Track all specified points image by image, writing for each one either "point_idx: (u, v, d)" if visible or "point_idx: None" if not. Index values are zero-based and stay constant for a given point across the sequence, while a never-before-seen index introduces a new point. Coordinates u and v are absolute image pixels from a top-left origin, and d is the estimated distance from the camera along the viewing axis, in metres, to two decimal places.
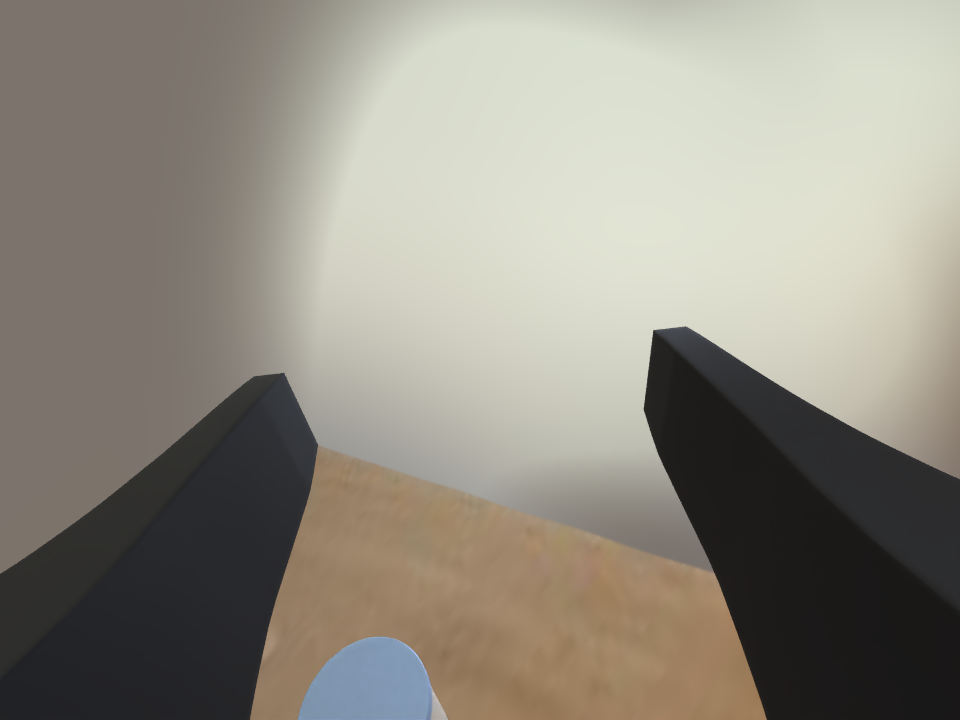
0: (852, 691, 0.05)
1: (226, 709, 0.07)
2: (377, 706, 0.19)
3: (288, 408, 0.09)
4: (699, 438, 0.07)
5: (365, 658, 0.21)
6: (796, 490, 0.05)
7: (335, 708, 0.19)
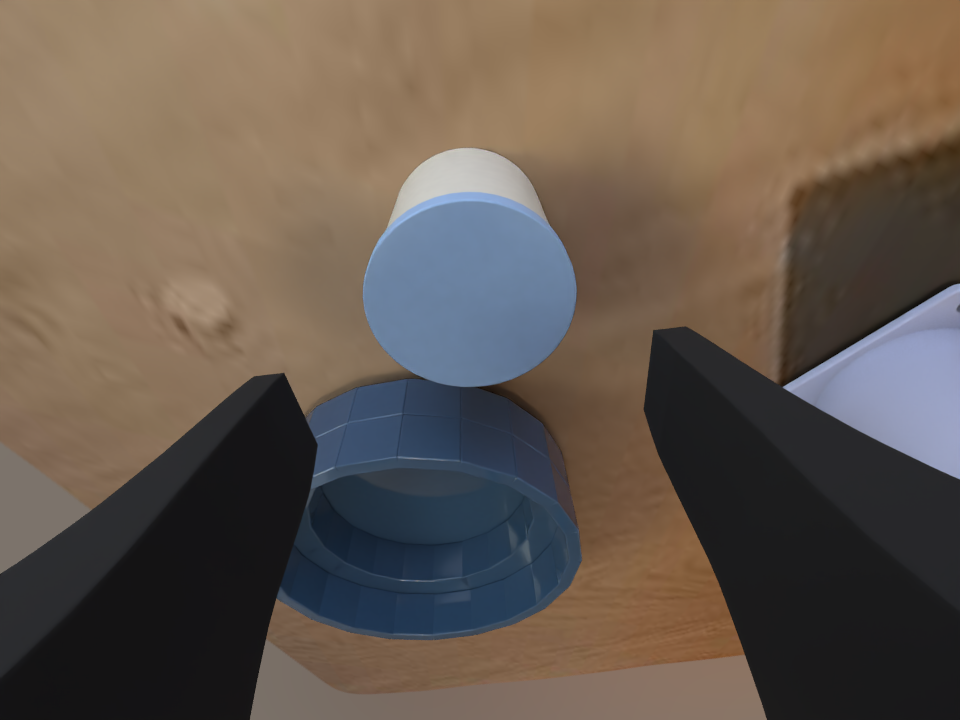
0: (852, 691, 0.05)
1: (226, 709, 0.07)
2: (487, 290, 0.12)
3: (288, 408, 0.09)
4: (699, 438, 0.07)
5: (407, 268, 0.12)
6: (796, 490, 0.05)
7: (439, 334, 0.13)
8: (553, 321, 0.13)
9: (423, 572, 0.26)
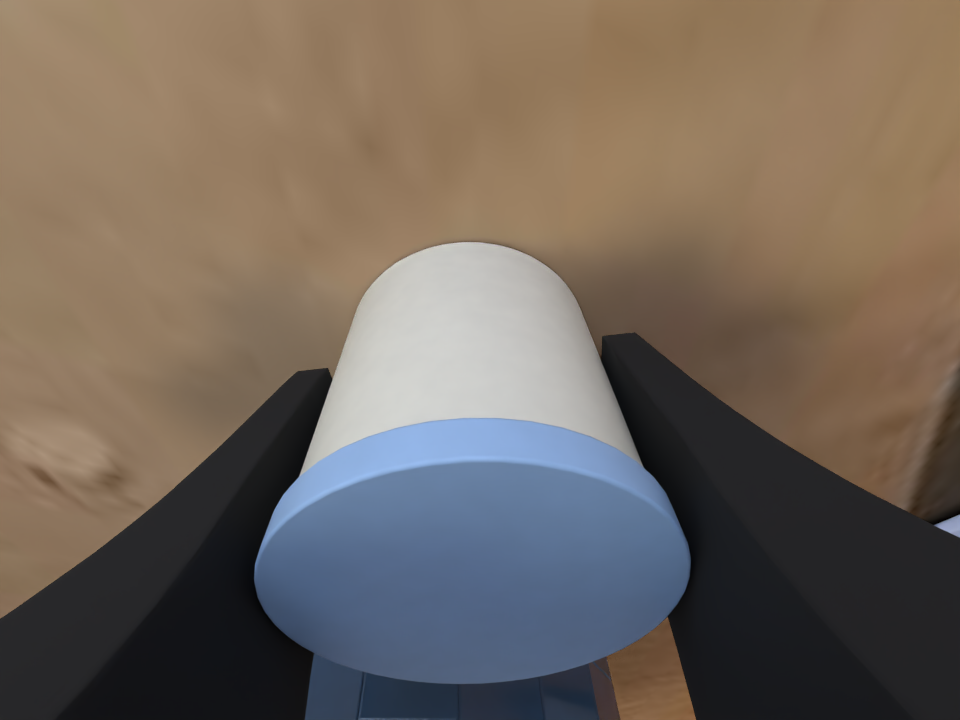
0: (755, 699, 0.05)
1: (286, 704, 0.07)
2: (509, 583, 0.06)
3: None
4: (639, 444, 0.07)
5: (342, 560, 0.05)
6: (709, 499, 0.05)
7: (414, 634, 0.07)
8: (636, 615, 0.06)
9: None
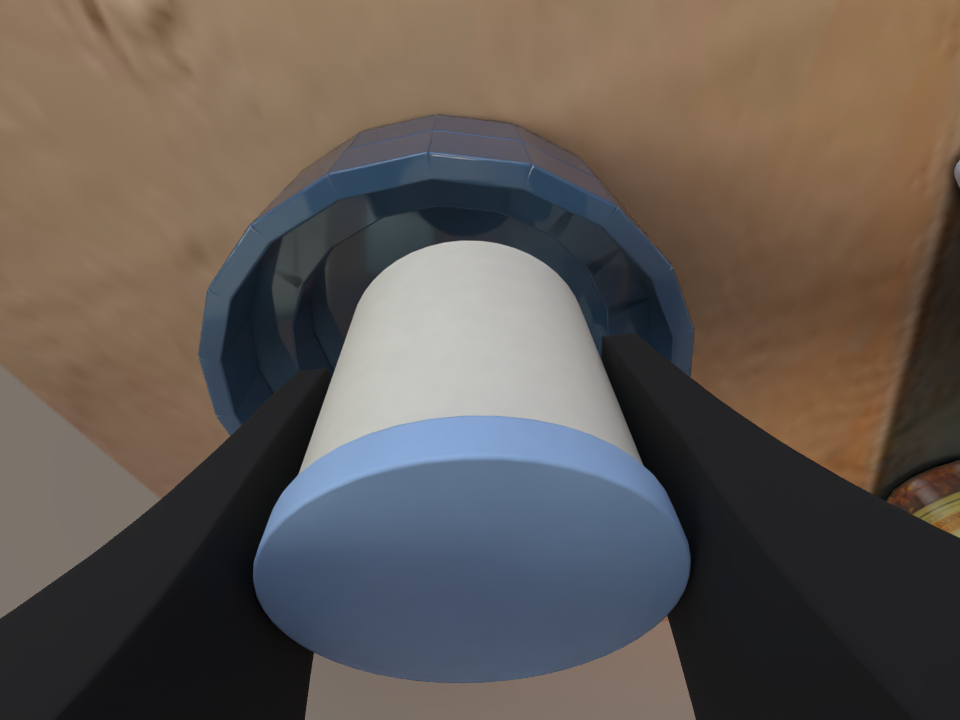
0: (754, 699, 0.05)
1: (285, 704, 0.07)
2: (509, 581, 0.06)
3: None
4: (639, 444, 0.07)
5: (341, 558, 0.05)
6: (709, 499, 0.05)
7: (414, 632, 0.07)
8: (636, 614, 0.06)
9: None
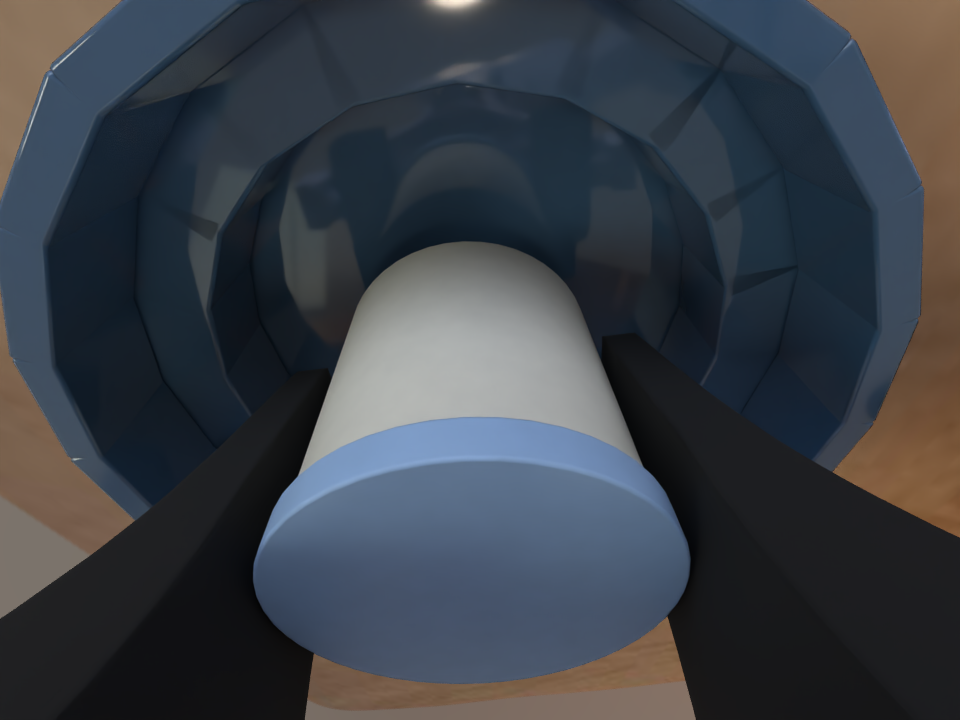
0: (754, 699, 0.05)
1: (285, 704, 0.07)
2: (509, 583, 0.06)
3: None
4: (639, 444, 0.07)
5: (341, 560, 0.05)
6: (709, 499, 0.05)
7: (414, 634, 0.07)
8: (635, 614, 0.06)
9: None
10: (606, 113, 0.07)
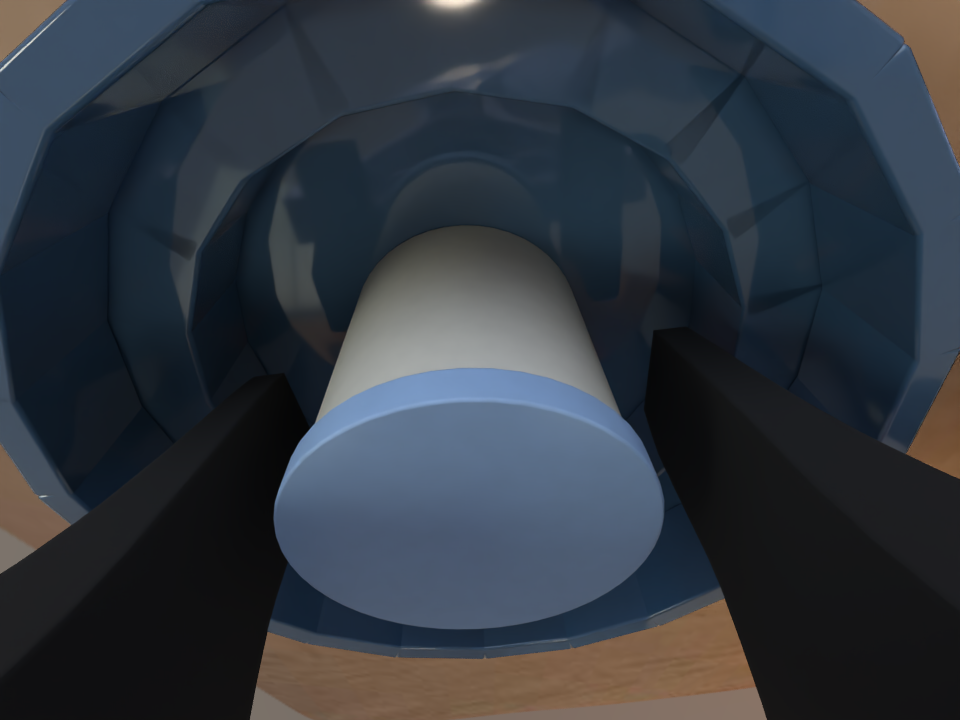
0: (852, 691, 0.05)
1: (226, 709, 0.07)
2: (502, 523, 0.07)
3: (288, 408, 0.09)
4: (699, 438, 0.07)
5: (353, 498, 0.06)
6: (796, 490, 0.05)
7: (417, 575, 0.07)
8: (617, 557, 0.07)
9: None
10: (618, 123, 0.07)
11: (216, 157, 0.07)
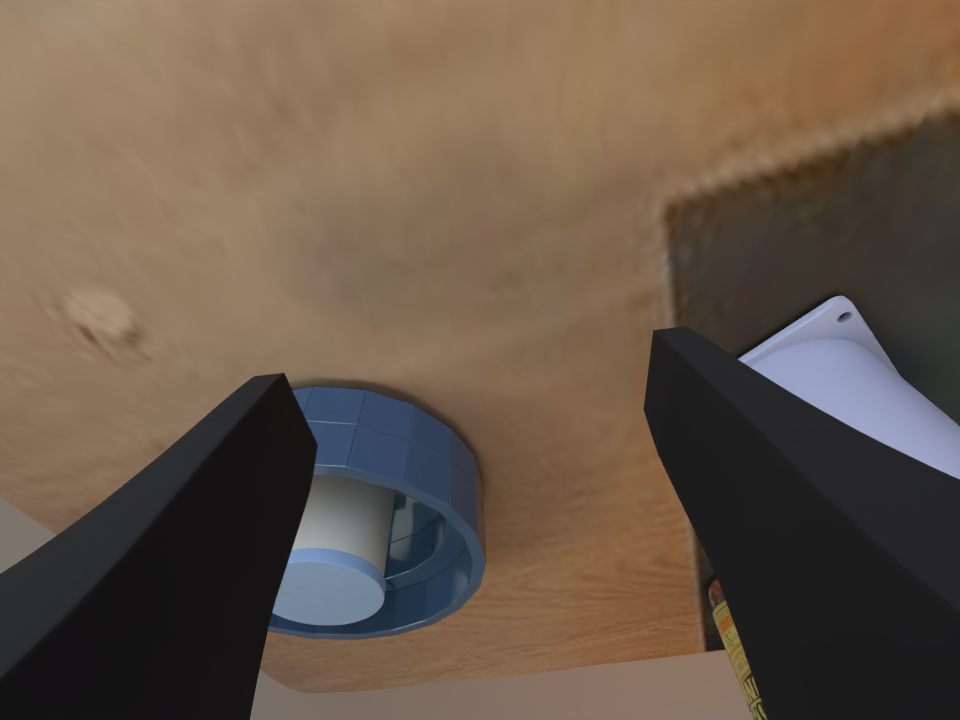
0: (852, 691, 0.05)
1: (226, 709, 0.07)
2: (327, 590, 0.20)
3: (288, 408, 0.09)
4: (699, 438, 0.07)
5: None
6: (796, 490, 0.05)
7: (304, 606, 0.21)
8: (372, 600, 0.21)
9: None
10: None
11: None
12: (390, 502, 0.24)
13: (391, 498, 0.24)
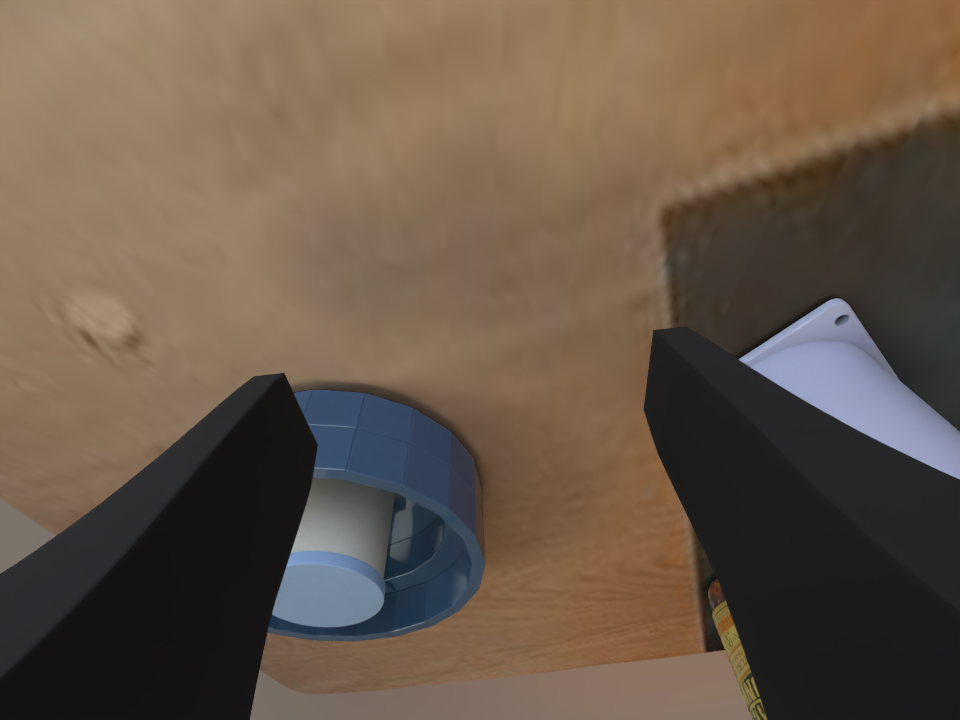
0: (852, 691, 0.05)
1: (226, 709, 0.07)
2: (327, 592, 0.20)
3: (288, 408, 0.09)
4: (699, 438, 0.07)
5: None
6: (796, 490, 0.05)
7: (304, 608, 0.21)
8: (372, 602, 0.21)
9: None
10: None
11: None
12: (390, 504, 0.24)
13: (391, 500, 0.24)
